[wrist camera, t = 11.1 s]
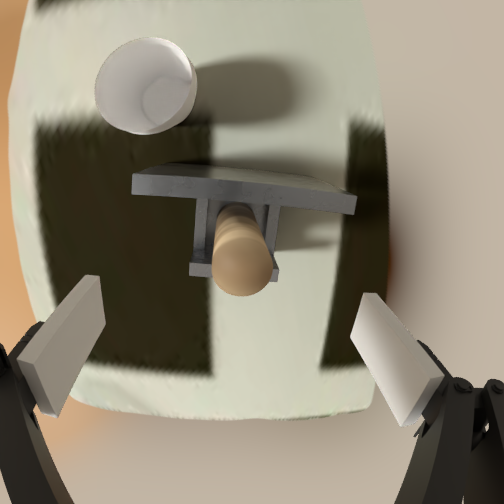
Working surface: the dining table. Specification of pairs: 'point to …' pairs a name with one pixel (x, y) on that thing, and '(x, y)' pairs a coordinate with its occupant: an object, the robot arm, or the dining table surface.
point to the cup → (146, 86)
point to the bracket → (238, 200)
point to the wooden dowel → (240, 252)
